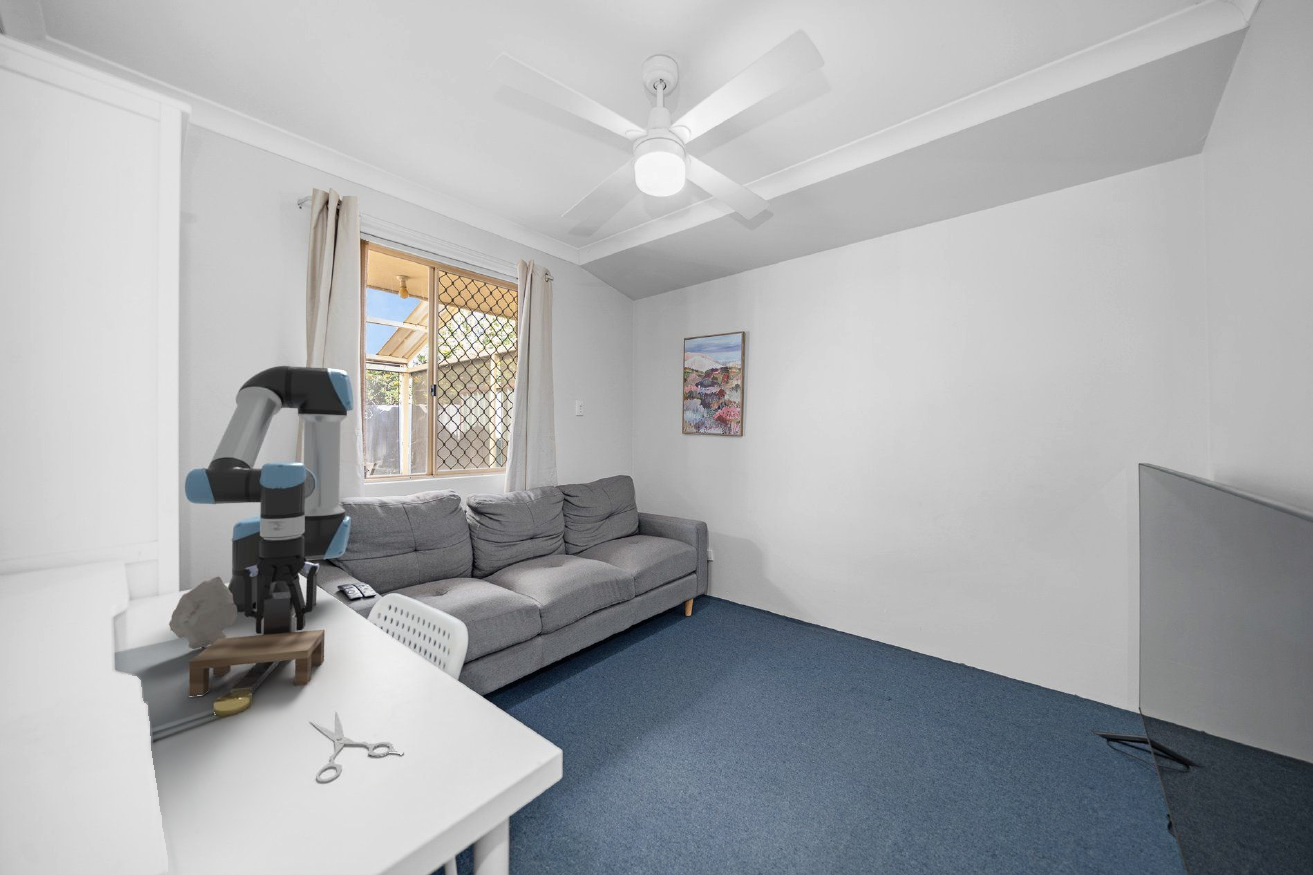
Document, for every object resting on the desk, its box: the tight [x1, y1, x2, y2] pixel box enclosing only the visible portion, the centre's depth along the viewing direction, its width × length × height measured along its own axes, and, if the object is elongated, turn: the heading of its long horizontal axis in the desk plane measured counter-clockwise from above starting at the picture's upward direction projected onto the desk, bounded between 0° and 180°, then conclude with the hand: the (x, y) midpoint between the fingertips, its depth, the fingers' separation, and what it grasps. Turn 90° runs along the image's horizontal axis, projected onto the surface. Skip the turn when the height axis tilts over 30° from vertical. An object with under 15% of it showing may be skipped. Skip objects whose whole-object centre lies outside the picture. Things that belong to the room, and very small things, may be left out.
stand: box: [188, 629, 325, 697], centre depth 96 cm, size 10×18×6 cm, turn 108°
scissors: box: [309, 711, 397, 784], centre depth 78 cm, size 11×1×20 cm
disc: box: [213, 691, 253, 718], centre depth 86 cm, size 5×5×2 cm
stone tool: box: [168, 576, 238, 650], centre depth 108 cm, size 11×4×15 cm, turn 132°
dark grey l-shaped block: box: [230, 592, 295, 694], centre depth 97 cm, size 20×4×12 cm, turn 19°
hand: (280, 646), depth 105 cm, fingers closed on dark grey l-shaped block, 4 cm apart
